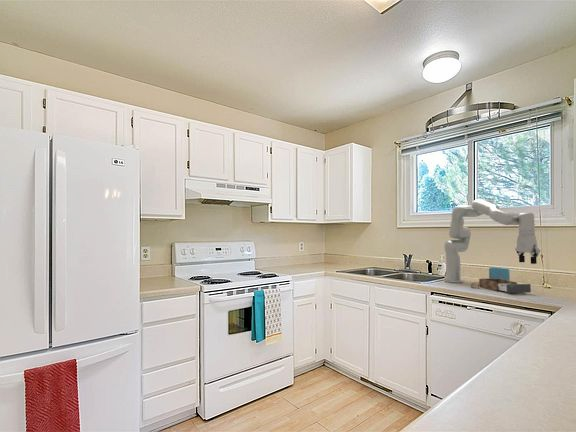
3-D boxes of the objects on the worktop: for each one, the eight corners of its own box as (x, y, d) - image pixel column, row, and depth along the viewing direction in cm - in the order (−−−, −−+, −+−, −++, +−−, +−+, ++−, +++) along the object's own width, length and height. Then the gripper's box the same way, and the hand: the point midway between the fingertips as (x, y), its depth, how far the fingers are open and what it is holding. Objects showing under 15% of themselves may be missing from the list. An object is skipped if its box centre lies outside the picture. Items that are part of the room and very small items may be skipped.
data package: (509, 284, 222) (509, 268, 222) (509, 285, 218) (508, 268, 219) (489, 283, 229) (489, 266, 230) (489, 283, 226) (488, 267, 226)
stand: (469, 287, 212) (469, 282, 212) (476, 287, 213) (475, 282, 213) (474, 288, 208) (474, 283, 208) (481, 288, 208) (480, 283, 208)
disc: (498, 287, 202) (498, 284, 202) (508, 287, 203) (508, 284, 203) (506, 289, 195) (506, 286, 196) (516, 289, 196) (516, 286, 196)
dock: (517, 290, 200) (516, 282, 200) (497, 291, 199) (496, 282, 199) (498, 286, 216) (497, 278, 216) (479, 286, 215) (479, 278, 215)
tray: (530, 292, 191) (530, 284, 191) (508, 292, 189) (508, 284, 189) (509, 287, 207) (509, 279, 207) (488, 287, 205) (488, 280, 206)
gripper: (509, 233, 193) (510, 261, 193) (533, 233, 176) (534, 264, 175) (520, 233, 194) (521, 261, 193) (545, 233, 177) (546, 264, 176)
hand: (527, 262), depth 184 cm, fingers open, 7 cm apart
